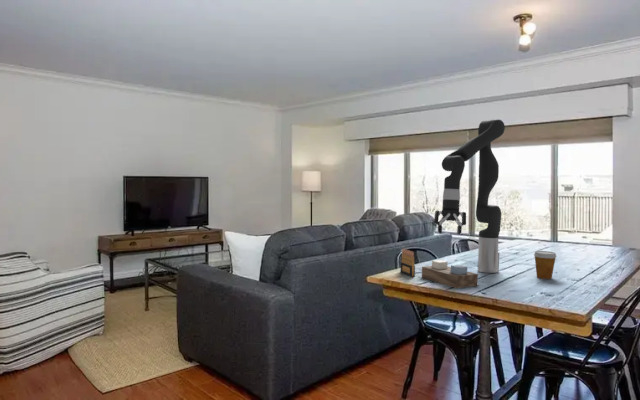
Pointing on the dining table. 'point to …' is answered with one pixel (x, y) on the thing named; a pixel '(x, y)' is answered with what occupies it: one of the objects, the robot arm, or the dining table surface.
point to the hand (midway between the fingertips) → (449, 233)
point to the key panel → (450, 277)
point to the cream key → (439, 264)
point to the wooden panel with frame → (408, 263)
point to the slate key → (458, 269)
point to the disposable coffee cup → (544, 264)
